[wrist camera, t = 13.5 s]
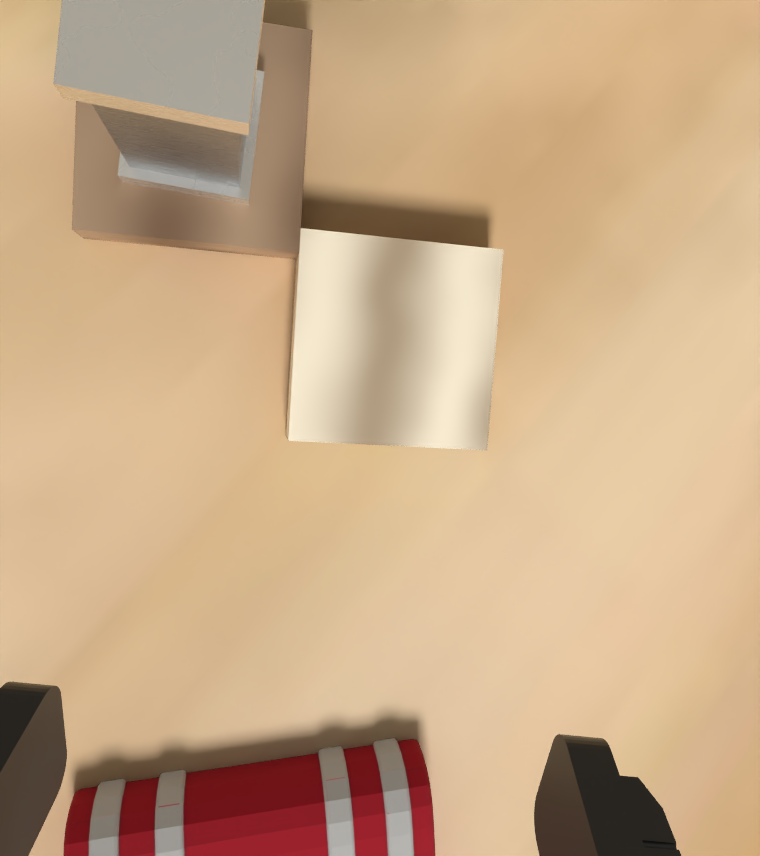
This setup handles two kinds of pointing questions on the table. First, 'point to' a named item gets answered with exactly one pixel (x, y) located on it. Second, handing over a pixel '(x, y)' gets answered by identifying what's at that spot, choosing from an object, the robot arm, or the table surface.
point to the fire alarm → (266, 808)
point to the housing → (170, 87)
